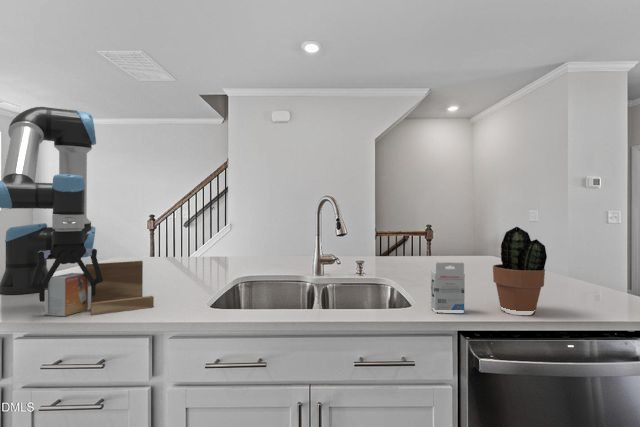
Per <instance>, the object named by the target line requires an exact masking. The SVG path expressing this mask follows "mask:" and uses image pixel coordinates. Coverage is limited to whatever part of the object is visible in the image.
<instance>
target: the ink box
mask: <svg viewBox="0 0 640 427" xmlns="http://www.w3.org/2000/svg"><path fill="white" fill-rule="evenodd" d="M449 266H451V267H454V268H446V267H449ZM465 280H466V279H465V264H464V262H447V261H446V262H436V263H435V270H431V271H430V285H431V286H430V304H431V305H430V308H431V307H432V308H434V309H435V310H464V311H465V286H466V285H465V284H466V283H465Z"/></svg>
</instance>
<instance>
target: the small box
mask: <svg viewBox="0 0 640 427" xmlns="http://www.w3.org/2000/svg"><path fill="white" fill-rule="evenodd" d="M87 310H88V308H87V277H86V276H85V274H84V273H83V272H80V273H79V272H71V273H65V274H61V275H53V276H52V277H51V279H50V281H49V282H48V314H47V316H54V317H67V316H69V315H72V314H73V315H74V314H76V313H80V312H84V311H87Z"/></svg>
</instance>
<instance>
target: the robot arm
mask: <svg viewBox="0 0 640 427" xmlns="http://www.w3.org/2000/svg"><path fill="white" fill-rule="evenodd" d="M7 134H8V136H9V138H10V141H9V146H8V150H7V155H6V160H5V164H4V170H3V175H2V179H1V180H0V209H9V210H12V209H44V210H46V209H47V210H50V209H52V225H51V227H49V226H48V224H47V223H45V222H43V223H33V224H26V225H24V224H23V225H18V226H12V227H9V228H8V229H7V230H6V232H5V240H4V242H5V269H4V273H3V275H2V278H1V279H0V280H1V281H0V294H1V295H25V294H34V293H39V294H38V296H39V297H38V299H39V300H38V301H39V302H41V303H42V302H43V303H44V304H43V305H44V307H43V308H44V315H48V282H49V281H50V279H51V277H54V274H55V273H56V271H57V269H58V268H59V266H60V265H67V264H77V265H78V266H79V268H80V270H81V271H82V273H84V274H85V276H86V277H87V279H88V280H89V282H90V285H87V310H91V296H95V294H96V284H98V283H100V282H102V281H103V278H102V275H101V272H100V268H99V265H98V263H99V262H98V258H97V254H98V250H97V249H96V248H95V247H94V245H95V244H94V242H95V237H96V236H95V234H96V227H95V226H93V225H92V221H90V220H89V219H88V217H87V211H88V210H87V200H88V198H87V195H88V194H87V190H88V188H87V187H88V186H87V184H88V180H87V178H88V177H87V176H88V175H87V172H88V153H89V152H90V151H92V148H93V147H92V146H94V145H97V139H96V130H95V123H94V118H93V116H92V114H91V113H89V112H87V111H81V110H74V109H66V108H56V107H54V108H53V107H47V106H35V107H30V108H28V109H26V110H23V111H21V112H20V113H19V114H17V115H16V116H15V117H14V118H13V119H12V120H11V122H10V123H9V126H8V132H7ZM43 141H48V142H53V147H54V148H55V149H56V150H57V151H58V162H59V163H58V164H59V165H58V174H55V175H53V177H52V183H51V182H36V174H37V168H38V159H39V150H40V145H41V143H42V142H43ZM88 257H90V260H91V264H93V267H94V271H95V274H96V277H97V279H93V277H92V276H91V274H90V273H89V271H88V270H87V268H86V264H85V263H84V262H83V260H82V258H83V259H84V258H88ZM48 260H54V262H53V263H52V265H51V266H50V268H49V270H48V267H47V262H48Z"/></svg>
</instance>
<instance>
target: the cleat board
mask: <svg viewBox="0 0 640 427" xmlns="http://www.w3.org/2000/svg"><path fill="white" fill-rule="evenodd" d="M143 264H144V262H143V260H131V261H129V260H128V261H115V262H98V265H99V268H100V272H101V275H102V278H103V281H102V282H100V283H98V284H96V294H95V296H91V309H90V315H91V316H93V315H95V316H97V315H103V314H110V313H119V312H125V311H133V310H142V308H143V309H148V308H149V307H150V308H154V307H155V305H154V302H155V300H154V296H153V295H148V296H143V290H144V289H143V284H144V281H143V278H144V277H143V274H144V273H143V268H144V267H143V266H144V265H143ZM85 266H86V268H87V270H88V271H89V273H90V274H91V276H92V277H93V279H97V277H96V274H95V271H94V267H93V264H92V263H86V264H85ZM87 285H90V282H89V280H88V279H87Z"/></svg>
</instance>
